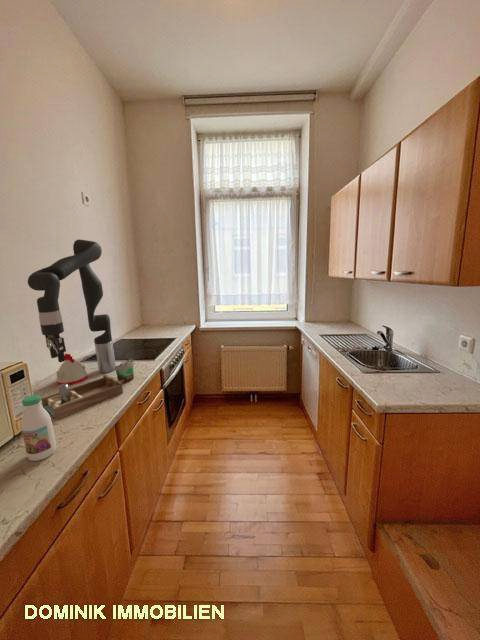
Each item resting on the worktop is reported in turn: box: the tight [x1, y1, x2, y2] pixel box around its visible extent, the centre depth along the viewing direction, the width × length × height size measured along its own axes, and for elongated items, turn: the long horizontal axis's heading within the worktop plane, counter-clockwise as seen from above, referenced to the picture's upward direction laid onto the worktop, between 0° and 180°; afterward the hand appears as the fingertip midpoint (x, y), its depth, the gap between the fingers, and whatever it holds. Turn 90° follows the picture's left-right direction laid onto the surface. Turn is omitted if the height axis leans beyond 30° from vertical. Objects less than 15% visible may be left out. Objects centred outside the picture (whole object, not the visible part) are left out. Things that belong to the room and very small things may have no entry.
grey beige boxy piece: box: [47, 383, 84, 410], centre depth 115 cm, size 12×10×9 cm
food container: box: [114, 357, 135, 384], centre depth 142 cm, size 12×6×10 cm, turn 168°
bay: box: [41, 374, 124, 421], centre depth 122 cm, size 16×28×6 cm, turn 142°
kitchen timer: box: [56, 353, 88, 386], centre depth 144 cm, size 14×14×15 cm
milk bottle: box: [21, 394, 57, 462], centre depth 85 cm, size 8×8×20 cm
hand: (58, 359), depth 112 cm, fingers open, 8 cm apart
